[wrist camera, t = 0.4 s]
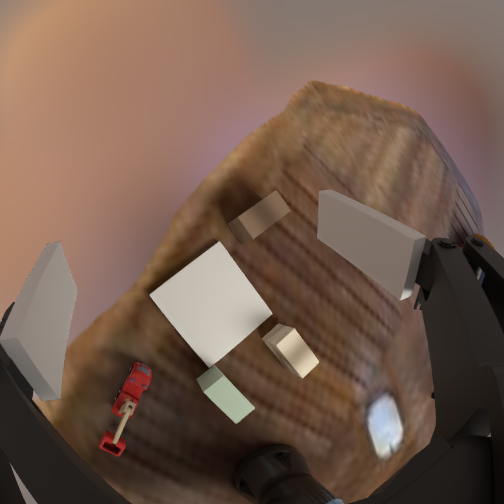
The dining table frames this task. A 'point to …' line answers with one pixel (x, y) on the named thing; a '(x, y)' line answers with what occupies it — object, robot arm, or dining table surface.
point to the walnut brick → (258, 217)
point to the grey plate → (211, 304)
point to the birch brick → (290, 350)
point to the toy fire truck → (126, 406)
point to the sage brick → (224, 394)
